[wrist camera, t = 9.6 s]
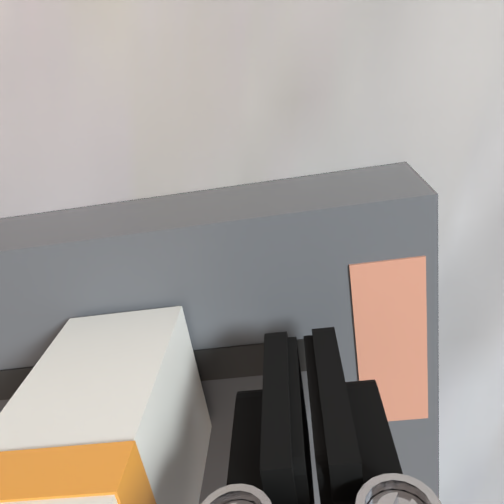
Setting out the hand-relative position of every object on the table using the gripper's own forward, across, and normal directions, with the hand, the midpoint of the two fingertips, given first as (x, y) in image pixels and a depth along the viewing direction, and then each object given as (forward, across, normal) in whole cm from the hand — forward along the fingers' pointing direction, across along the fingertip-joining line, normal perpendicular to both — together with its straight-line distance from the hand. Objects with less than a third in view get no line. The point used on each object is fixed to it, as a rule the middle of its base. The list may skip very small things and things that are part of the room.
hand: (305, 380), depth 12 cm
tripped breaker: (+1, +4, 0) cm, 4 cm away
